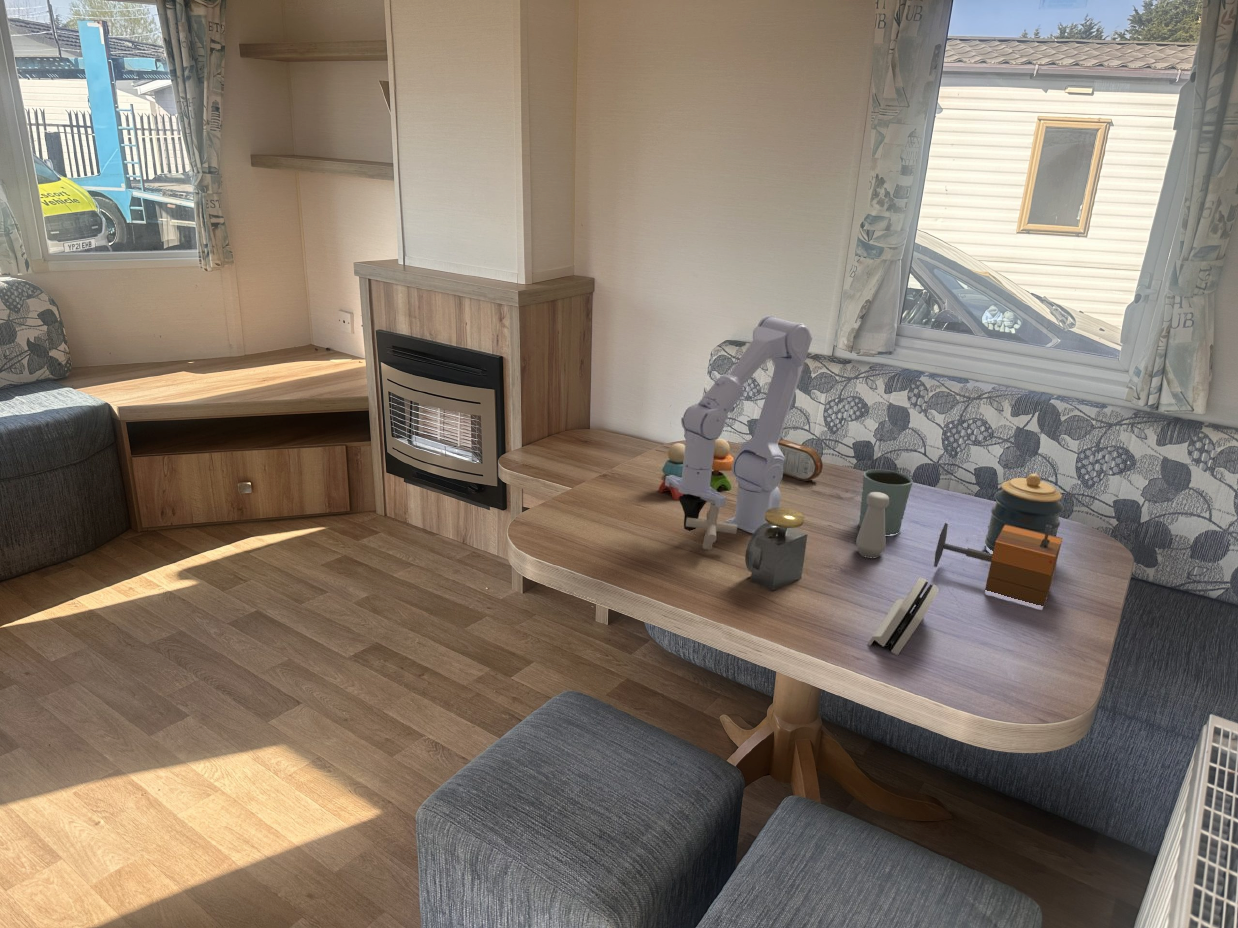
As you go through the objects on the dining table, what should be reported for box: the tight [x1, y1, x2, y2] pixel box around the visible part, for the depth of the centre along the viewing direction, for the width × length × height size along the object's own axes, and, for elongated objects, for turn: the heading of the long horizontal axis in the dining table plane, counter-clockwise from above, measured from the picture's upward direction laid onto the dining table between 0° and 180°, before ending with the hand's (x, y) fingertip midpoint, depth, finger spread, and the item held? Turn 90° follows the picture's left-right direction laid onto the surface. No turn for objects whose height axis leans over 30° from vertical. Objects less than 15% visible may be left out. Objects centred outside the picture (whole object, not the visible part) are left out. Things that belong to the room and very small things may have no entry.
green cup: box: [858, 469, 914, 535], centre depth 189 cm, size 10×10×12 cm
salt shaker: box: [855, 492, 889, 559], centre depth 176 cm, size 6×6×13 cm
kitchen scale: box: [744, 507, 808, 592], centre depth 162 cm, size 10×8×13 cm
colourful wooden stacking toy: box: [658, 438, 734, 501], centre depth 206 cm, size 18×17×12 cm
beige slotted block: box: [867, 576, 940, 655], centre depth 147 cm, size 17×5×10 cm, turn 149°
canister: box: [984, 473, 1065, 551], centre depth 179 cm, size 13×13×18 cm
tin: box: [778, 439, 824, 482], centre depth 219 cm, size 15×3×8 cm, turn 46°
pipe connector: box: [686, 503, 738, 551], centre depth 174 cm, size 10×10×10 cm
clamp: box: [933, 522, 1063, 607], centre depth 165 cm, size 11×20×14 cm, turn 58°
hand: (690, 529), depth 177 cm, fingers closed, pressing on pipe connector
